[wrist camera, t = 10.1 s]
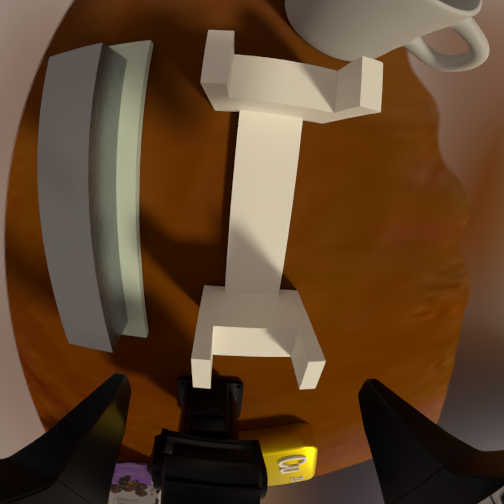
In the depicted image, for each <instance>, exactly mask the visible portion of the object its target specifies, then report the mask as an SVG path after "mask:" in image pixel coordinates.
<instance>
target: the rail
mask: <svg viewBox="0 0 504 504" xmlns="http://www.w3.org/2000/svg"><path fill="white" fill-rule="evenodd" d="M126 64H127V59H125V58H124V57H122V56H121V55H120V54H118V53H117V52H115V51H114V50H113V49H111V48H110V47H108V46H107V45H106V44H104V43H98V44H94V45H90V46H85V47H82V48H78V49H74V50H71V51H67V52H64V53H61V54H57V55H54V56H51V57H49V61H48V66H47V71H46V76H45V81H44V87H43V94H42V101H41V109H40V119H39V132H38V195H39V209H40V219H41V228H42V235H43V242H44V248H45V254H46V260H47V265H48V270H49V275H50V279H51V284H52V288H53V292H54V296H55V300H56V303H57V307H58V311H59V314H60V317H61V321H62V324H63V327H64V330H65V333H66V336H67V339H68V342H69V343H70V344H75V345H79V346H83V347H88V348H92V349H97V350H102V351H107V352H112V353H113V351H114V349H115V347H116V345H117V343H118V341H119V339H120V337H121V335H122V333H123V331H124V329H125V327H126V325H127V323H128V317H127V311H126V304H125V298H124V291H123V283H122V275H121V266H120V256H119V244H118V229H117V204H116V165H117V142H118V127H119V116H120V106H121V97H122V90H123V82H124V76H125V70H126Z"/></svg>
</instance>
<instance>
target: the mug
mask: <svg viewBox="0 0 504 504" xmlns="http://www.w3.org/2000/svg"><path fill="white" fill-rule="evenodd" d="M481 5H482V0H285V11H286V15H287V18H288V20H289V22H290V24H291V25H292V27H293V29H294V30H295V31H296V32H297V34H298V35H299V36H300V37H301V38H302V39H303V40H305V41H306V42H307V43H308V44H309V45H311V46H312V47H314V48H315V49H317V50H319V51H320V52H322V53H324V54H326V55H329V56H331V57H334V58H337V59H341V60H345V61H354V60H356V59H358V58H359V57H361V56H365V57H368V58H371V59H375V58H377V57H379V56H381V55H383V54H385V53H387V52H389V51H391V50H393V49H396V48H398V47H401V46H403V47H405V48H406V49H407V50H408V51H409V52H410V53H412V54H413V55H414V56H416V58H418V59H419V60H420V61H421V62H423V63H424V64H426V65H428V66H430V67H431V68H434V69H436V70H441V71H448V72H449V71H450V72H453V71H454V72H455V71H464V70H469V69H472V68H474V67H477V66H479V65H480V64H482V63H484V62H485V60H486V59H487V58H488V55H489V44H488V41H487V39H486V37H485V35H484V34H483V32H482V31H481V29H480V28H479V26H478V25H477V23H476V22H475V21H474V19H473V18H472V16H474V15H476V14H477V13H478V12H479V11H480V9H481ZM446 27H450V28H451V29H453V30H454V31H456V32H457V33H458V34H459V35H460V36H461V37H462V38H463V39H464V40H465V41H466V43H467V44H468V46H469V48H470V49H469V50H468V51H467V52H465V53H462V54H457V55H445V54H441V53H439V52H437V51H435V50H434V49H432V48H431V47H430V46H429V45H428V44H427V43H426V42H425V41H424V40H423V39H422V38H421V36H423V35H425V34H428V33H430V32H433V31H436V30H439V29H443V28H446Z"/></svg>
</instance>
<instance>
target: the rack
mask: <svg viewBox="0 0 504 504" xmlns="http://www.w3.org/2000/svg"><path fill="white" fill-rule="evenodd" d="M382 80H383V63H382V62H380V61H377V60H374V59H371V58H368V57H365V56H361V57H359V58H358V59H356V60H354V61H353V62H351V63H349V64H348V65H346V66H345V67H343V68H342V69H340V70H338V71H335V70H331V69H327V68H323V67H318V66H314V65H309V64H304V63H299V62H293V61H287V60H281V59H274V58H266V57H258V56H248V55H236V54H234V31H226V30H208V34H207V40H206V46H205V53H204V60H203V66H202V74H201V81H200V83H201V85H202V87H203V89H204V91H205V93H206V94H207V96H208V98H209V100H210V102H211V104H212V106H213V108H214V110H215V111H231V112H240V113H239V122H238V132H237V142H236V153H235V163H234V175H233V186H232V198H231V210H230V223H229V236H228V250H227V265H226V281H225V287H223V286H209V285H204V288H203V294H202V299H201V304H200V310H199V315H198V321H197V327H196V332H195V338H194V344H193V350H192V357H191V365H192V380H193V387H196V388H208V389H210V388H211V372H212V358H213V354H214V355H232V356H264V357H291V358H292V362H293V366H294V370H295V374H296V378H297V382H298V386H299V389H314V388H316V385H317V383H318V380H319V378H320V375H321V372H322V370H323V367H324V364H325V362H326V360H325V358H324V355H323V353H322V350H321V348H320V345H319V343H318V340H317V338H316V335H315V333H314V330H313V328H312V325H311V323H310V320H309V318H308V315H307V313H306V311H305V308H304V306H303V303H302V301H301V298H300V296H299V294H298V291H297V290H280V284H281V278H282V271H283V265H284V259H285V252H286V245H287V239H288V232H289V225H290V218H291V211H292V203H293V196H294V188H295V180H296V172H297V164H298V156H299V147H300V138H301V129H302V120H306V121H311V122H317V123H322V124H323V123H327V122H332V121H336V120H341V119H346V118H351V117H356V116H362V115H367V114H373V113H379V112H381V100H382Z"/></svg>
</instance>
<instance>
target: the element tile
mask: <svg viewBox="0 0 504 504" xmlns="http://www.w3.org/2000/svg"><path fill="white" fill-rule="evenodd" d="M252 439H255V440H259V443H260V447H261V451H262V455H263V458H264V462H265V465H266V469H267V475H268V486H273V485H280V484H287V483H293V482H298V481H304V480H308V479H310V478H311V477H313V476H314V474H315V467H316V459H317V451H318V448H317V444H316V440H315V436H314V432H313V428H312V426H311V425H310V424H308V423H295V424H289V425H283V426H277V427H270V428H263V429H255V430H246V431H239V440H252Z"/></svg>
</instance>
